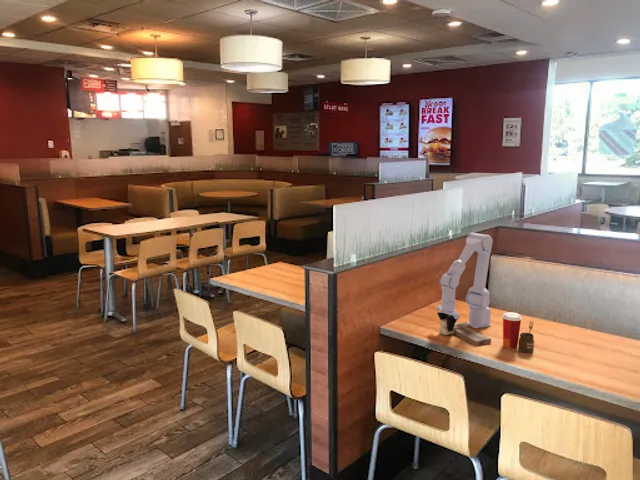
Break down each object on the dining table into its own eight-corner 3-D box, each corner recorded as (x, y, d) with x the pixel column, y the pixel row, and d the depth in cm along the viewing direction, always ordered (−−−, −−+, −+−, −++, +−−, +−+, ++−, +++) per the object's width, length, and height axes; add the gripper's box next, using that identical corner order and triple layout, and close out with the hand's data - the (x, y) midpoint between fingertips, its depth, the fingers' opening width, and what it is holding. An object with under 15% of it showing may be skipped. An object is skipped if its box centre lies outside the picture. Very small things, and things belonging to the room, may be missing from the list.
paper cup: (520, 344, 217) (522, 313, 215) (519, 351, 211) (521, 318, 208) (501, 341, 221) (503, 310, 218) (499, 348, 214) (501, 316, 211)
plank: (459, 326, 240) (459, 322, 239) (490, 343, 219) (491, 338, 219) (445, 328, 237) (445, 324, 236) (475, 345, 216) (475, 341, 216)
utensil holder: (515, 350, 212) (517, 322, 210) (523, 346, 215) (525, 319, 213) (528, 354, 207) (530, 326, 205) (536, 350, 211) (538, 323, 209)
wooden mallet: (463, 328, 236) (464, 316, 235) (469, 331, 232) (469, 318, 231) (439, 332, 231) (440, 319, 230) (444, 335, 227) (445, 322, 226)
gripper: (431, 297, 233) (430, 325, 235) (450, 306, 219) (449, 336, 222) (444, 295, 235) (443, 323, 238) (464, 304, 222) (462, 333, 224)
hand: (447, 329), depth 230 cm, fingers closed on wooden mallet, 4 cm apart
